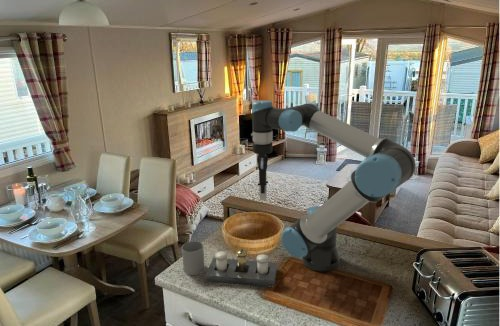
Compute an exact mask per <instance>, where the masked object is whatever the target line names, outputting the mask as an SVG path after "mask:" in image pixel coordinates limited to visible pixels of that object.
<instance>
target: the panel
mask: <svg viewBox="0 0 500 326" xmlns="http://www.w3.org/2000/svg"><path fill="white" fill-rule="evenodd" d="M277 273H278V262H273V261H268V274H258V268H257V260H250V259H249V260H247V259H246V270H243V271H241V270H238V259H232V258H231V259H230V258H227V271H217V264H216V258H215V257H213V258H212V259H211V261H210V264H209V266H208V269H207V270H206V273H205V275H204V277H205V278H204V279H205V283H214V284H224V285H238V286H249V287H263V288H271V287H272V286H273V287H274V285H275V286H276V280H277ZM275 279H276V280H275ZM269 286H271V287H269ZM274 288H275V287H274Z"/></svg>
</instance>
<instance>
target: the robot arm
mask: <svg viewBox="0 0 500 326" xmlns="http://www.w3.org/2000/svg"><path fill="white" fill-rule="evenodd" d="M251 121H252V122H251V123H252V133H250V136H251V137H252V152H253V154H256V155H257V159H256V160H257V168H258V181H259V182H258V183H257V186H259V201H267V194H268V193H267V192H268V191H267V184H268V183H269V181H268V180H267V179H268V177H267V168H268V162H269V161H268V160H269V156H268V154H271V153H273V136H274V135H273V134H274V133H273V132H274V131H273V130H278V131H284V132H287V133H288V132H291V133H292V132H297V131H298V130H299V129H300V128H301V127H303V126H304V127H306V128H307V129H310V130H312V131H314V132H316V133H318V134H320V135H322V136H324V137H326V138H327V139H329V140H331V141H333V142H335V143H337V144H339V145H341V146H343V147H345V148H347V149H349V150H350V151H352V152H354V153H356V154H358V155H361V156H362V157H364V159H362V161H361V162H359V164H358V166H357V167H356V169H355V170H354V171H352V172H351V174H350V180H349V182H347V183H346V184H345V185H343V186H342V188H340V189H339V190H337V192H335V194H333V195H332V196H331V197H330V198H329V199H327V200H326V201H325V202H324V203H323V204H321V205H320V206H319V205H318V206H317V205H315V206H314V205H313V206H311V207H308V209H307V211H306V212H307V213H306V214H303V215H302V216H300V218H298V219H297V220H296V221H295V222H294V223H293V224H291V225H290V226H287V227H285V229H283V231H282V232H281V236H280V237H281V244H282V246H283V248H284V249H285V251H286V252H287V253H288V255H290V256H292V257H294V258H296V259H301V263H302V264H303V265H304V266H305V267H306V268H308V269H310V270H313V271H317V272H331V271H334V270H336V269H337V268H338V267H339V266H340V260H341V258H340V254H339V250H338V247H337V238H338V237H337V235H338V234H337V233H338V226H340V224H342V223H344V222H345V221H346V220H347V219H349V217H351V216H353V215H354V214H356V212H358V211H359V210H360V209H362V208H363V207H364V206H365V205H367V204H368V203H378V202H379V201H382V199H384V198H385V197H386V196H388V195H389V194H391V193H393V192H394V191H395V190H396V189H397V188H399V187H400V186H401V185H403V184H404V183H406V182H408V181H409V180H410V179H411V178H412V177H413V176H414V173H415V171H416V165H417V164H416V160H415V157H414V155H413V153H411V151H410V150H409V149H408V148H406V147H404V146H403V145H401V144H399V143H397V142H395V141H393V140H390V139H389V138H386V137H384V138H379V137H377V136H374V135H373V134H370V133H368V132H366V131H365V130H362V129H359V128H357V127H355V126H353V125H351V124H349V123H347V122H345V121H343V120H340V119H338V118H336V117H334V116H332V115H330V114H327V113H326V112H323V111H321V109H320V108H319V107H318V105H317V104H315V103H304V104H300V105H295V106H291V107H285V108H280V107H274V105H273V102H272V101H271V100H266V99H265V100H264V99H263V100H262V99H261V100H254V101H253V102H252V104H251Z"/></svg>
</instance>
